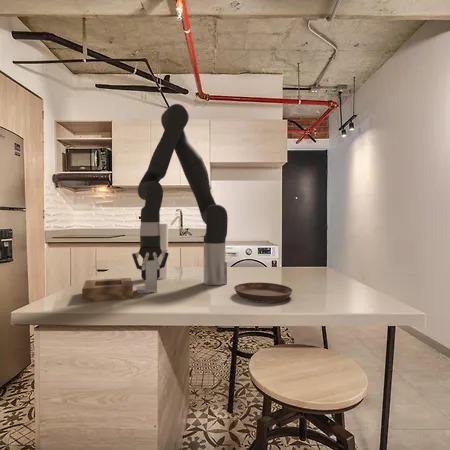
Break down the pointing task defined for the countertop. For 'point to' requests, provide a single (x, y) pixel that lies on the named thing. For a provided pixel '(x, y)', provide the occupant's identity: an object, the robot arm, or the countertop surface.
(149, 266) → the grey block
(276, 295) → the plant saucer
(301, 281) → the countertop surface
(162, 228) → the cylindrical container
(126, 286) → the well block
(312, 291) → the countertop surface
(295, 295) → the countertop surface
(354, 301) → the countertop surface
